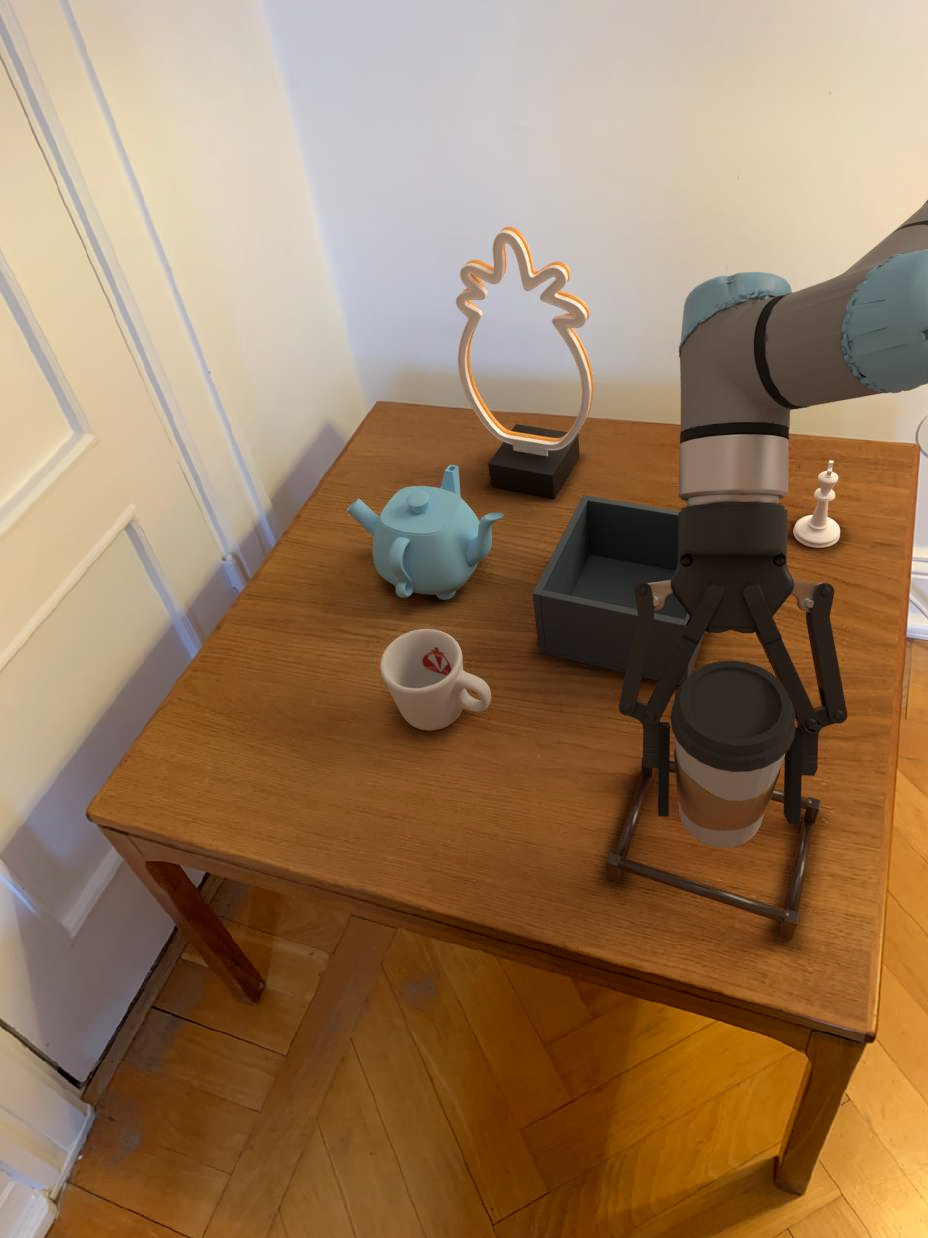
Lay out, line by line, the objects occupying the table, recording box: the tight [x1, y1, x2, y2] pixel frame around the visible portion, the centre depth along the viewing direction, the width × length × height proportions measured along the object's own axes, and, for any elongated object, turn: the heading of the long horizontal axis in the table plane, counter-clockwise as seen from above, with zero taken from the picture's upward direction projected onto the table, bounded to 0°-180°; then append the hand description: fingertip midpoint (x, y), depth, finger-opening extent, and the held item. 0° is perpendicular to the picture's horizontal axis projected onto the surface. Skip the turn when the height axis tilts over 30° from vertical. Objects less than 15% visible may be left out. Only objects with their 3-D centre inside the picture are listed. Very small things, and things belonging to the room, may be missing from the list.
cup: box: [379, 628, 492, 732], centre depth 84 cm, size 11×8×8 cm
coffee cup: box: [669, 660, 796, 849], centre depth 64 cm, size 8×8×15 cm
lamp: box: [455, 226, 595, 500], centre depth 100 cm, size 17×9×32 cm, turn 64°
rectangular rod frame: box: [605, 757, 822, 941], centre depth 72 cm, size 15×11×3 cm
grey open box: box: [531, 494, 706, 687], centre depth 89 cm, size 16×16×9 cm
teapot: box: [346, 464, 504, 601], centre depth 97 cm, size 15×14×11 cm
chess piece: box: [792, 459, 841, 549], centre depth 93 cm, size 5×5×10 cm
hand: (726, 815), depth 63 cm, fingers closed on coffee cup, 8 cm apart
